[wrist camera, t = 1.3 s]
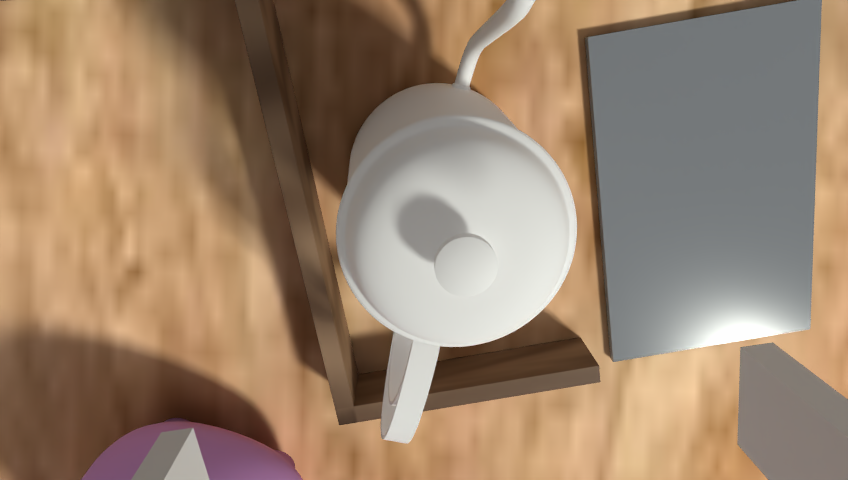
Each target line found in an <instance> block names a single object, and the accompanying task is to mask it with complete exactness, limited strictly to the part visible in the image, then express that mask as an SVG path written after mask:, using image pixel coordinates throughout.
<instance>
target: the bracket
mask: <svg viewBox="0 0 848 480" xmlns="http://www.w3.org/2000/svg"><path fill="white" fill-rule="evenodd" d="M235 3H236V7H237V11H238V15H239V20H240V24H241V28H242V32H243V36H244V40H245V44H246V48H247V52H248V56H249V60H250V64H251V68H252V72H253V76H254V81H255V85H256V89H257V93H258V97H259V101H260V105H261V109H262V113H263V117H264V121H265V125H266V129H267V133H268V137H269V142H270V146H271V150H272V154H273V158H274V162H275V166H276V170H277V174H278V178H279V182H280V186H281V190H282V194H283V198H284V203H285V207H286V211H287V215H288V219H289V223H290V227H291V231H292V235H293V239H294V243H295V247H296V251H297V255H298V259H299V263H300V268H301V272H302V276H303V280H304V284H305V288H306V292H307V296H308V300H309V304H310V308H311V312H312V316H313V320H314V324H315V329H316V333H317V337H318V341H319V345H320V349H321V353H322V357H323V361H324V365H325V369H326V373H327V377H328V381H329V385H330V390H331V394H332V398H333V402H334V406H335V410H336V414H337V418H338V422H339V425H344V424H350V423H356V422H362V421H368V420H374V419H380V418H381V414H382V404H383V396H384V388H385V381H386V374H387V370H383V371H377V372H371V373H365V374H359V375H358V371H357V366H356V362H355V358H354V353H353V349H352V344H351V340H350V336H349V331H348V327H347V322H346V318H345V314H344V309H343V305H342V300H341V296H340V292H339V287H338V283H337V278H336V274H335V270H334V265H333V261H332V256H331V252H330V248H329V243H328V239H327V234H326V230H325V226H324V221H323V217H322V212H321V208H320V204H319V199H318V195H317V191H316V186H315V182H314V177H313V173H312V169H311V164H310V160H309V155H308V151H307V147H306V142H305V138H304V133H303V129H302V125H301V120H300V116H299V111H298V107H297V103H296V98H295V94H294V89H293V85H292V81H291V76H290V72H289V67H288V63H287V59H286V54H285V50H284V46H283V41H282V37H281V32H280V28H279V24H278V19H277V15H276V10H275V6H274V2H273V0H235ZM597 382H600V373H599V365H598V364H597V362H596V361H595V359H594V357H593V356H592V354H591V353H590V351H589V350H588V348H587V347H586V345H585V344H584V342H583V341H582V339H581V338H575V339H569V340H563V341H557V342H551V343H545V344H539V345H533V346H527V347H521V348H515V349H509V350H503V351H497V352H491V353H485V354H479V355H473V356H467V357H461V358H455V359H449V360H443V361H437V362H436V366H435V370H434V374H433V378H432V382H431V386H430V389H429V393H428V396H427V399H426V403H425V406H424V409H423V411H428V410H434V409H440V408H446V407H452V406H459V405H465V404H471V403H477V402H483V401H489V400H495V399H501V398H507V397H513V396H519V395H525V394H531V393H537V392H543V391H549V390H555V389H561V388H567V387H573V386H579V385H585V384H591V383H597Z"/></svg>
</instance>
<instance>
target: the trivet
mask: <svg viewBox="0 0 848 480" xmlns="http://www.w3.org/2000/svg"><path fill="white" fill-rule="evenodd" d="M821 6H822V0H796V1H791V2H785V3H779V4H774V5H768V6H762V7H757V8H751V9H745V10H740V11H734V12H728V13H722V14H717V15H711V16H705V17H700V18H694V19H688V20H683V21H677V22H671V23H665V24H660V25H654V26H648V27H643V28H637V29H631V30H626V31H620V32H614V33H608V34H603V35H597V36H591V37H586V38H585V46H586V59H587V71H588V84H589V96H590V109H591V122H592V134H593V147H594V159H595V172H596V184H597V197H598V209H599V222H600V234H601V247H602V259H603V272H604V284H605V297H606V309H607V322H608V334H609V347H610V358H611V359H612V361H613V362H616V361H622V360H628V359H634V358H640V357H646V356H652V355H658V354H664V353H670V352H676V351H682V350H688V349H694V348H700V347H706V346H712V345H718V344H724V343H730V342H736V341H742V340H748V339H754V338H760V337H766V336H772V335H778V334H784V333H790V332H796V331H802V330H808V329H810V321H811V292H812V264H813V235H814V206H815V178H816V149H817V120H818V92H819V63H820V34H821Z"/></svg>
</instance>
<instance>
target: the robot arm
mask: <svg viewBox="0 0 848 480" xmlns="http://www.w3.org/2000/svg"><path fill="white" fill-rule="evenodd" d="M3 1H4V0H3ZM738 445H739V447H740V448H741V449H742V450H743V451H744V452H745V453H746V455H747V456H748V457H749V458H750V459H751V460H752V461H753V463H754V464H755V465H756V466H757V467H758V468H759V469H760V471H761V472H762V473H763V474H764V475H765V476H766V477H767V479H768V480H848V399H846V398H845V397H844V396H842V395H841V394H840V393H838V392H837V391H836V390H834V389H833V388H832V387H830V386H829V385H828V384H827V383H825V382H824V381H823V380H821V379H820V378H819V377H817V376H816V375H815V374H813V373H812V372H811V371H809V370H808V369H807V368H805V367H804V366H803V365H802V364H800V363H799V362H798V361H796V360H795V359H794V358H792V357H791V356H790V355H788V354H787V353H786V352H784V351H783V350H782V349H780V348H779V347H778V346H776V345H775V344H774V343H766V344H760V345H753V346H746V347H741V350H740V381H739V413H738ZM131 480H209V476H208V473H207V470H206V467H205V464H204V461H203V457H202V454H201V451H200V448H199V445H198V441H197V438H196V435H195V432H194V429H193V428H187V429H180V430H174V431H167V432H161V434H160V435H159V437H158V438H157V440H156V441H155V443H154V445H153V446H152V448H151V449H150V451H149V452H148V454H147V456H146V457H145V459H144V460H143V462H142V463H141V465H140V467H139V468H138V470H137V471H136V473H135V474H134V476H133V477H132V479H131Z"/></svg>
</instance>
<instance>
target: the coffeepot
mask: <svg viewBox="0 0 848 480" xmlns="http://www.w3.org/2000/svg"><path fill="white" fill-rule="evenodd" d="M534 2H535V0H506V2H505V3H504V4H503V5H502V6H501V7H500V8H499V9H498V10H497V11H496V12H495V13H494V14H493V15H492V16H491V17H490V18H489V19H488V20H487V21H486V22H485V23H484V24H483V25H482V26H481V27H480V28H479V30H478V31H477V32H476V33H475V34H474V35H473V36H472V37H471V38H470V40H469V42H468V44H467V46H466V48H465V50H464V53H463V56H462V59H461V62H460V65H459V69H458V72H457V76H456V79H455V83H453V84H447V83H429V84H422V85H417V86H413V87H410V88H407V89H405V90H402V91H400V92H398V93H396V94H394V95H393V96H391V97H389V98H388V99H386V100H385V101H384V102H382V103H381V104H380V105H379V106H378V107H377V108H376V109H375V110H374V111H373V112H372V113H371V114H370V115H369V116H368V118H367V119H366V120H365V122H364V123H363V125H362V127H361V128H360V130H359V132H358V134H357V136H356V139H355V141H354V144H353V147H352V151H351V156H350V163H349V173H348V183H347V186H346V188H345V191H344V193H343V196H342V199H341V202H340V206H339V210H338V215H337V223H336V244H337V252H338V257H339V261H340V265H341V268H342V271H343V274H344V276H345V279H346V281H347V283H348V285H349V287H350V288H351V290H352V292H353V293H354V295H355V296H356V298H357V299H358V301H359V302H360V303H361V305H362V306H363V307H364V308H365V309H366V310H367V311H368V312H369V313H370V314H371V315H372V316H373V317H374V318H375V319H376V320H378V321H379V322H380V323H381V324H383V325H384V326H386V327H387V328H389V329H390V330H392V331H394V332H393V338H392V343H391V349H390V355H389V361H388V367H387V374H386V381H385V388H384V396H383V404H382V414H381V437H382V439H385V440H390V441H396V442H401V443H409V442H410V441H411V439H412V437H413V436H414V434H415V431H416V429H417V426H418V424H419V421H420V418H421V415H422V412H423V409H424V406H425V403H426V399H427V396H428V393H429V389H430V386H431V382H432V378H433V374H434V370H435V366H436V362H437V358H438V354H439V349H440V346H443V347H464V346H472V345H478V344H482V343H486V342H490V341H493V340H496V339H499V338H501V337H504V336H506V335H508V334H510V333H512V332H514V331H516V330H517V329H519V328H521V327H522V326H524V325H525V324H527V323H528V322H529V321H531V320H532V319H533V318H534V317H535V316H537V315H538V314H539V313H540V312H541V311H542V310H543V309H544V308H545V307H546V306H547V305H548V303H549V302H550V301H551V300H552V299H553V297H554V296H555V294H556V293H557V292H558V290H559V288H560V287H561V285H562V283H563V281H564V279H565V278H566V275H567V273H568V271H569V268H570V265H571V262H572V259H573V255H574V251H575V245H576V237H577V219H576V210H575V205H574V201H573V197H572V194H571V191H570V188H569V186H568V183H567V181H566V179H565V177H564V175H563V173H562V171H561V170H560V168H559V167H558V165H557V164H556V162H555V161H554V160H553V158H552V157H551V156H550V155H549V154H548V153H547V151H546V150H545V149H544V148H543V147H542V146H540V145H539V144H538V143H537V142H536V141H535V140H533V139H532V138H531V137H529V136H528V135H526V134H525V133H523V132H522V131H520V130H518V129H517V128H516V127H515V125H514V124H513V123H512V122H511V121H510V120H509V119H508V117H507V116H506V115H505V114H504V113H503V112H502V111H501V110H500V109H499V108H498V107H497V106H496V105H495V104H494V103H493V102H492V101H490V100H489V99H487V98H486V97H484V96H483V95H481V94H479V93H477V92H475V91H473V90H471V89H470V87H469V86H470V82H471V79H472V75H473V72H474V69H475V66H476V63H477V60H478V58H479V55H480V53H481V52H482V50H483V49H484V48H485V47H486V46H488V45H489V44H490V43H492V42H493V41H494V40H496V39H497V38H498V37H500V36H501V35H503V34H504V33H505V32H507V31H508V30H509V29H511V28H512V27H513V26H515V25H516V24H517V23H518V22H519V21H521V20H522V19H523V18H524V17H525V16H526V14H527V13H528V12H529V10H530V9H531V7H532V5H533V3H534Z"/></svg>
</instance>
